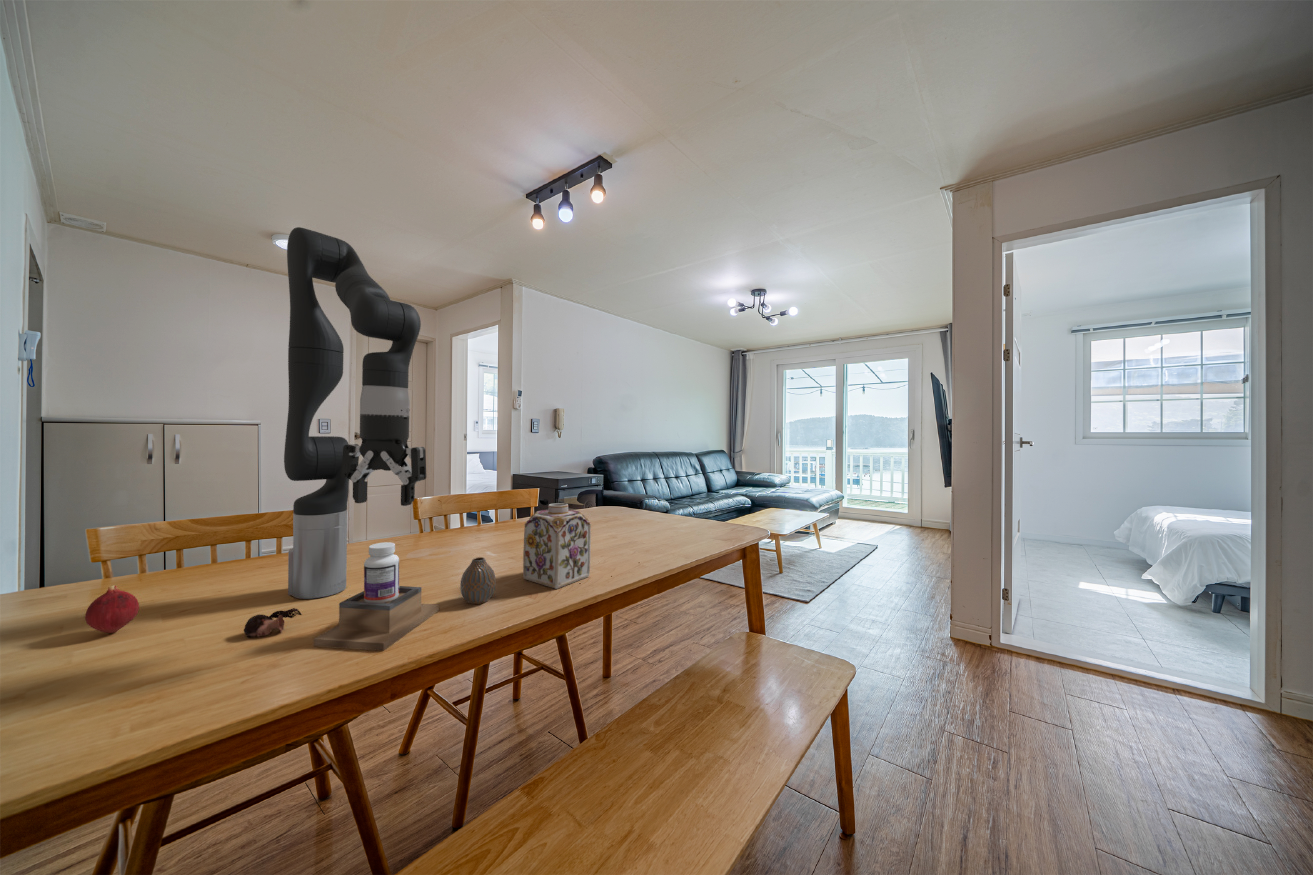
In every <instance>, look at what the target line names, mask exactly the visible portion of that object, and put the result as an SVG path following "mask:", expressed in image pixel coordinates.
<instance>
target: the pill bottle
mask: <svg viewBox="0 0 1313 875" xmlns="http://www.w3.org/2000/svg"><path fill="white" fill-rule="evenodd" d="M395 551H396V544H395V543H394V542H390V541H386V542H377V543H373V544H371V545H369V546H368V555H369V557H368V558H366V559H365V561H364V562H363V591H364V601H365V602H374V603H386V602H390V601H392V600H394V599H396V598H397V597H398V596H399V586H400V558H399V556H398V555H397V554H394V553H395Z"/></svg>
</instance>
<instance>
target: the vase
mask: <svg viewBox="0 0 1313 875" xmlns="http://www.w3.org/2000/svg"><path fill="white" fill-rule="evenodd" d="M459 585H460V587H459V589H460V593H461V596H462V598H463V600H465V601H466V602H467V603H468V604H471V605H480V604H484V603H486V602H488V601H489V600H490V599H491V598H492V597H493V595H494V594H495V591H496V587H497V586H496V585H497V577H496V574H495V572H494V569H493V568H492V567H491V566H490V565H489V563H488V561H487V560H486V558H485V557H480V556H479V557H474V558H473V559H472V560H471V562H470V563H469V565H468V566H467V568H466V569H465V570H464V572H462V576H461V578H460V583H459Z"/></svg>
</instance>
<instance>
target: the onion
mask: <svg viewBox="0 0 1313 875" xmlns="http://www.w3.org/2000/svg"><path fill="white" fill-rule="evenodd" d="M139 610H140V603H139V600H138V599H137V597H136V596H134V595H133V594H132V593H131V592H128V591H125V590H121V589H119V588H118V585H110V586H108V588H107V591H106V592H105V593H102V595H100V596H98V597H97V598H95V599H94V600H93V601H92V602H91V603H90V604H89V605H88V607H87V610H86V611H85V616H84V620H85V622H86V624H87V625H88V626H89V627H90V628H92V629H94V630H95V631H98V632H101V633H102V632H103V633H106V634H109V633H111V634H114V633H116V632H119V631H120V629H122V628H125V627H126V626H127V625H128V624H129V623H130V622H132V621H133V620H134V619H135V617H136V616H137V615H138V612H139Z"/></svg>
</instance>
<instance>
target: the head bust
mask: <svg viewBox="0 0 1313 875" xmlns="http://www.w3.org/2000/svg"><path fill="white" fill-rule="evenodd" d="M297 616H303V614H302V613H301V611H300V610H299V609H298V608H296V607H294V608H293V607H292V608H290V609H286V610H277V611H274V612H272V613H270V614H269V615H265V614H255V615H253V616H251V617H249V619H247V621H246V623H245V625H244V628H243V634H244V635H245V636H246V638H249V639H250V638H253V637H263V636H267V635H270V633H271V632H272V631H273V630H275V629H277V630H279V631H280V633H281V634H282V633H283V630H284V626H285V623H286V622H285V619H286V618H288V619H293V618H296V617H297Z"/></svg>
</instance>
